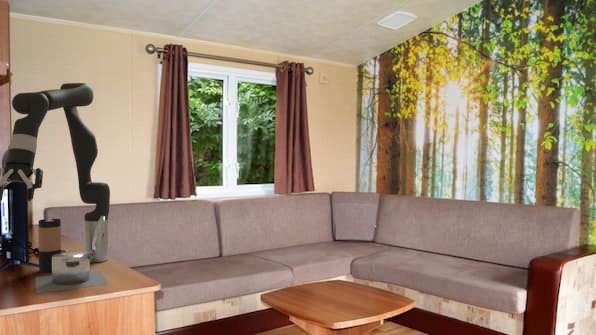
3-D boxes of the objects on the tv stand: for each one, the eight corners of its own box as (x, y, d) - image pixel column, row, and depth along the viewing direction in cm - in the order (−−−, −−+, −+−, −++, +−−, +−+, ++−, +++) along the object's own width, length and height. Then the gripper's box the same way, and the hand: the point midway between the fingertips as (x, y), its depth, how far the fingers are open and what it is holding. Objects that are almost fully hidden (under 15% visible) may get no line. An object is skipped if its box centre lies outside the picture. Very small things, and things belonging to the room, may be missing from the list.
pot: (51, 277, 170) (50, 252, 170) (89, 273, 177) (89, 249, 177) (53, 288, 156) (52, 261, 156) (94, 283, 163) (94, 257, 162)
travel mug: (51, 275, 175) (51, 221, 175) (33, 273, 177) (33, 221, 176) (65, 270, 183) (65, 219, 182) (48, 269, 184) (48, 218, 184)
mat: (35, 278, 170) (35, 277, 170) (100, 271, 181) (100, 270, 181) (35, 294, 151) (35, 292, 151) (108, 285, 162) (108, 284, 162)
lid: (98, 213, 176) (105, 214, 177) (87, 250, 175) (94, 251, 176) (103, 217, 165) (110, 219, 166) (92, 257, 163) (99, 258, 165)
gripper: (50, 155, 154) (42, 203, 150) (4, 153, 153) (-6, 202, 148) (41, 148, 147) (32, 198, 143) (-8, 146, 146) (-18, 197, 141)
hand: (13, 200), depth 146 cm, fingers open, 8 cm apart
